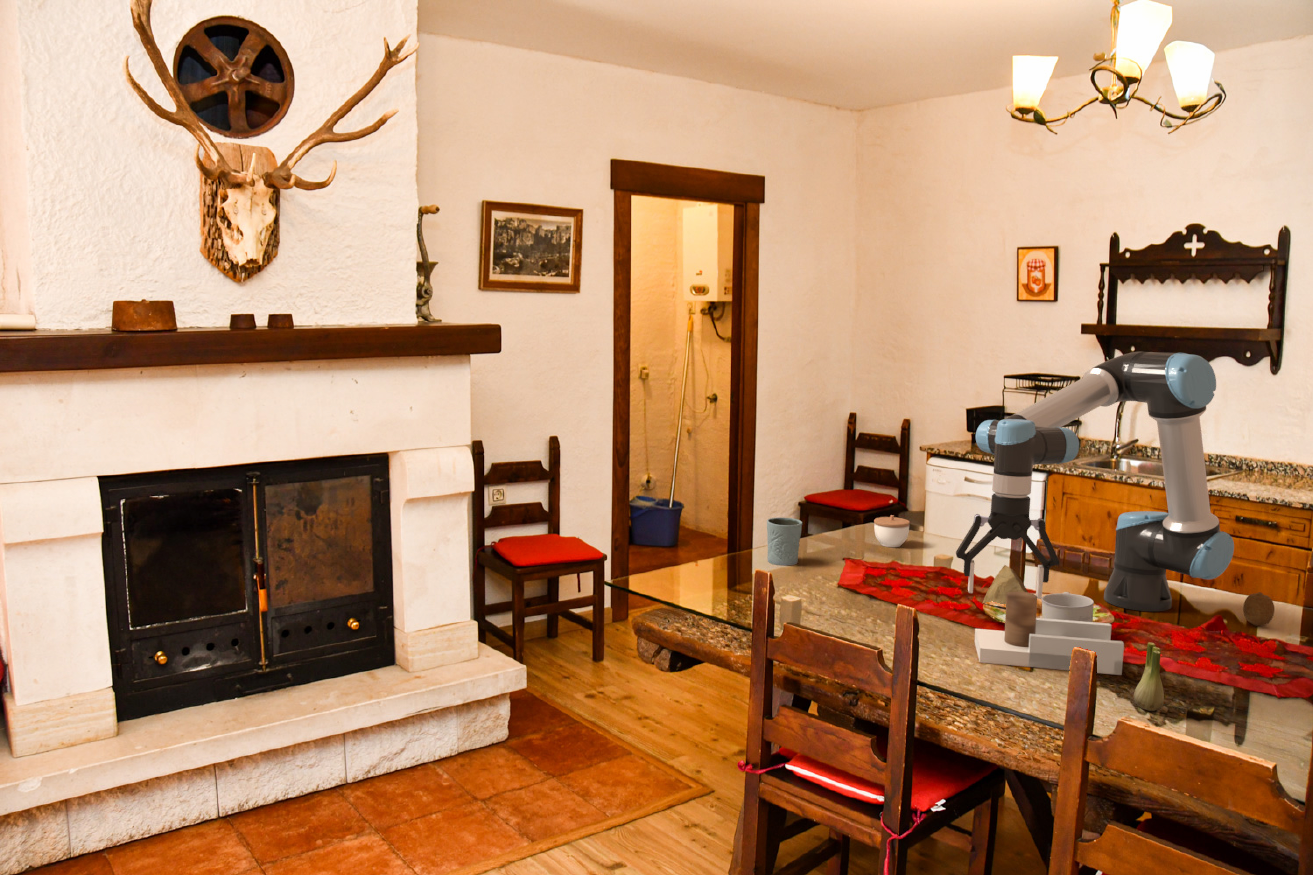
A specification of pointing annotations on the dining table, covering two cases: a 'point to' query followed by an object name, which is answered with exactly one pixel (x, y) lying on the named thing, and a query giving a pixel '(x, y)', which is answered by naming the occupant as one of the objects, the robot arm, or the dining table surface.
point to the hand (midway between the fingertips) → (1004, 594)
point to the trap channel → (1053, 646)
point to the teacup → (1067, 607)
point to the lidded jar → (891, 530)
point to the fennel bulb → (1150, 682)
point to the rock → (1004, 586)
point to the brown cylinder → (1020, 618)
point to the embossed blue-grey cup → (783, 540)
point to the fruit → (1258, 609)
